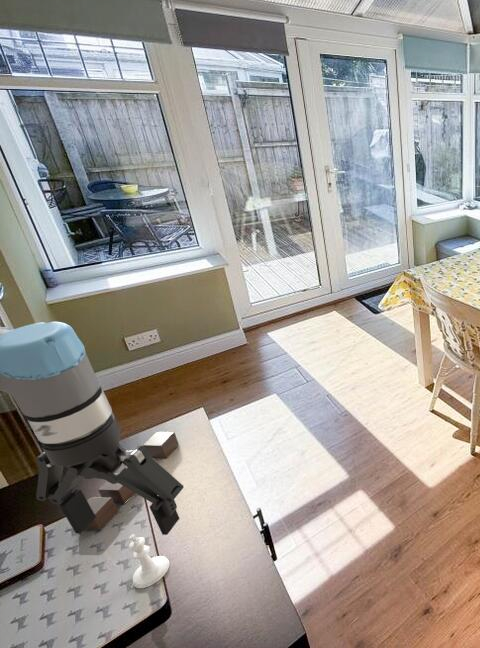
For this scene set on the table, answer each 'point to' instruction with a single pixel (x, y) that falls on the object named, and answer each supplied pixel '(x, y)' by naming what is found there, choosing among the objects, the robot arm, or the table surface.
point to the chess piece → (147, 564)
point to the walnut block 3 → (161, 444)
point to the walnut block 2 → (101, 512)
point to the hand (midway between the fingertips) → (128, 526)
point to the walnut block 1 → (115, 492)
